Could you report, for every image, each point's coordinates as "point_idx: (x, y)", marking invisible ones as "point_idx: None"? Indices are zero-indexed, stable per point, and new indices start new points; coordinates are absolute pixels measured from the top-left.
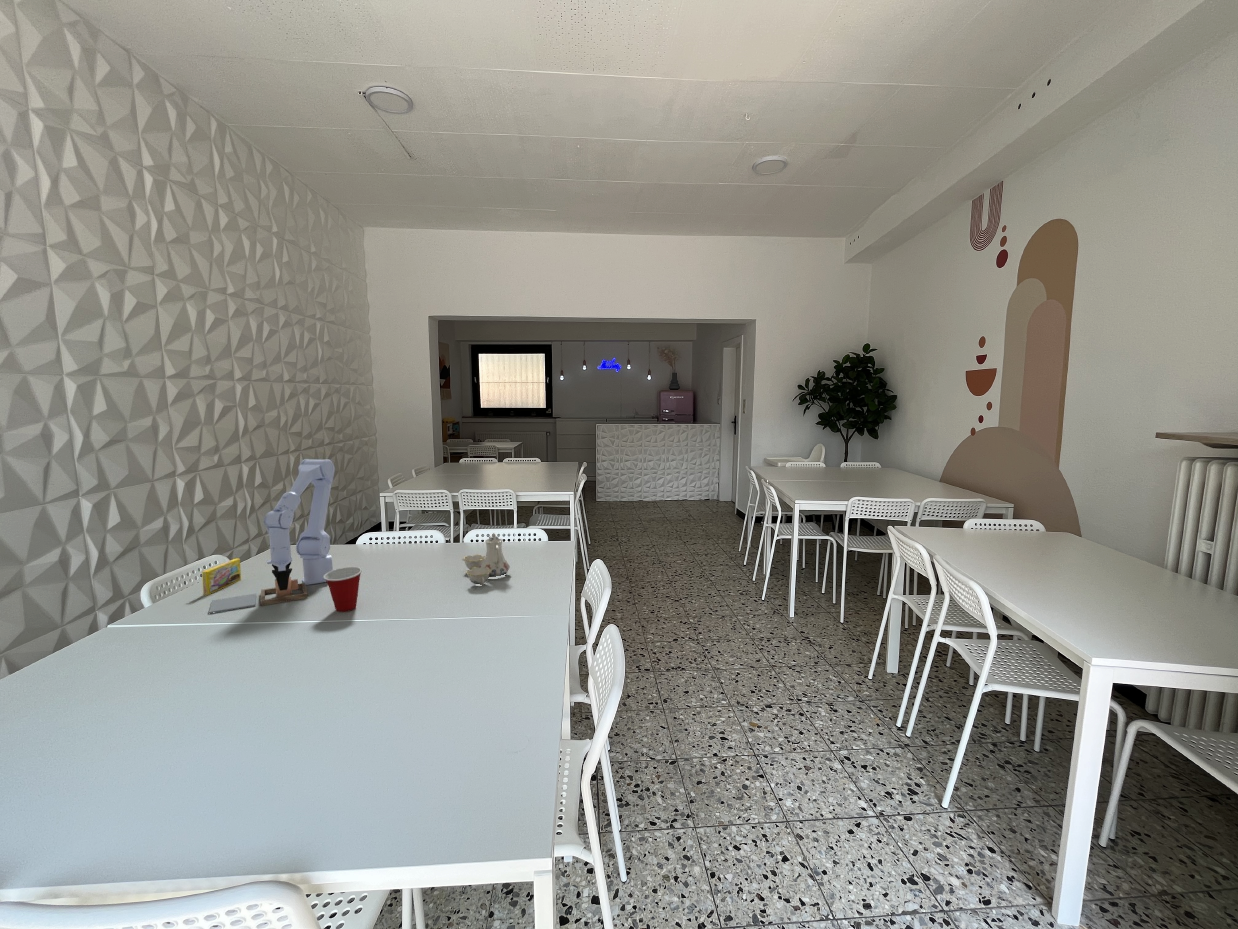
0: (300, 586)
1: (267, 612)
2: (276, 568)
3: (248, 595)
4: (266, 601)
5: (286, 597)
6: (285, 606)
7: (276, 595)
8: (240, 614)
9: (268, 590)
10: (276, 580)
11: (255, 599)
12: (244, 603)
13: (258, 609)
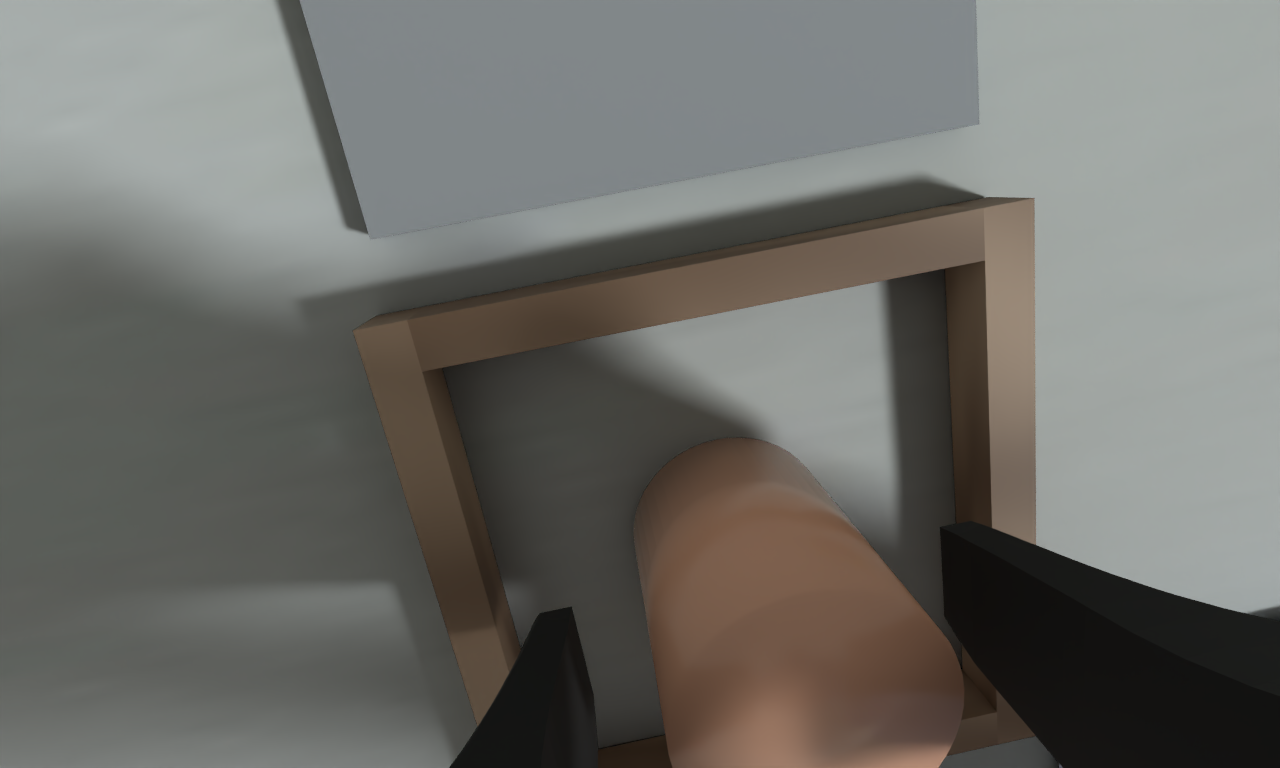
0: (977, 673)
1: (41, 467)
2: (1234, 729)
3: (923, 14)
4: (380, 404)
5: (454, 645)
6: (257, 632)
7: (691, 465)
8: (14, 84)
9: (976, 310)
10: (733, 636)
11: (644, 185)
12: (480, 42)
13: (214, 314)
